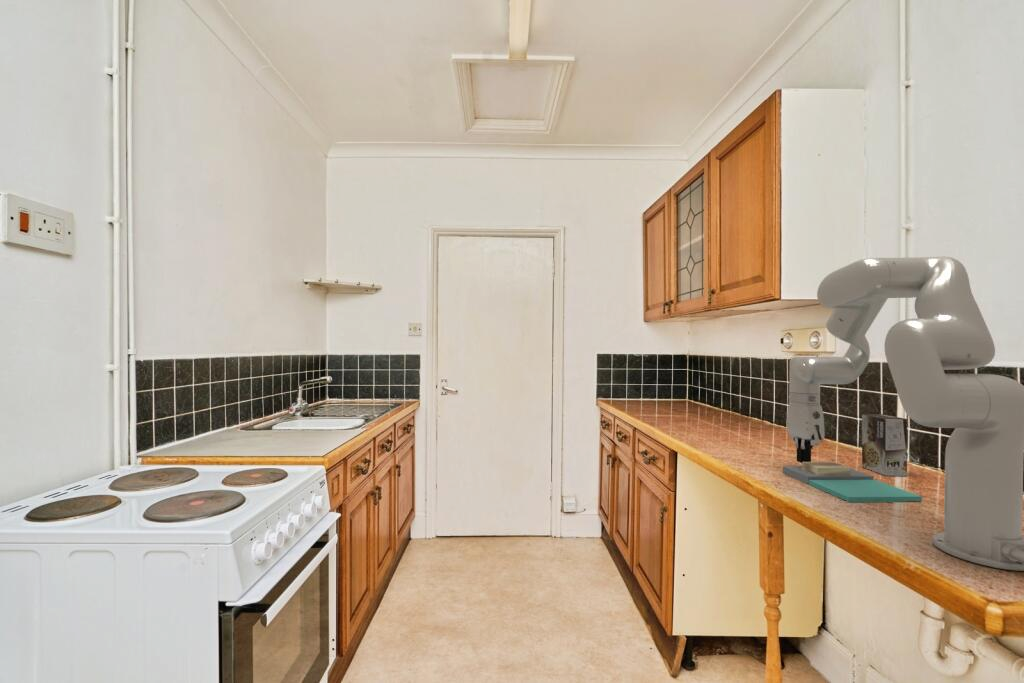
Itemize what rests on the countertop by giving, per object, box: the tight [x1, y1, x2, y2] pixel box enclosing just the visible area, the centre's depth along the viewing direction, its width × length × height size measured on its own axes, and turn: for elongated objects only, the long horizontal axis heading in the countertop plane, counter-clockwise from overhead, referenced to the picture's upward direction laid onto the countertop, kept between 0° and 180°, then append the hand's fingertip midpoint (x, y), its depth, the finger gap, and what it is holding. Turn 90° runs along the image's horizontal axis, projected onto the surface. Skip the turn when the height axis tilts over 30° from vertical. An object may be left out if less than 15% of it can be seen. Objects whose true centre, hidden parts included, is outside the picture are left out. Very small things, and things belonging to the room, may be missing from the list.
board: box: [782, 465, 874, 485], centre depth 124 cm, size 10×18×2 cm, turn 93°
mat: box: [808, 479, 923, 503], centre depth 112 cm, size 13×18×1 cm
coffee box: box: [861, 413, 909, 477], centre depth 131 cm, size 9×6×16 cm
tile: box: [801, 461, 852, 475], centre depth 123 cm, size 6×9×2 cm, turn 93°
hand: (803, 462), depth 131 cm, fingers closed
